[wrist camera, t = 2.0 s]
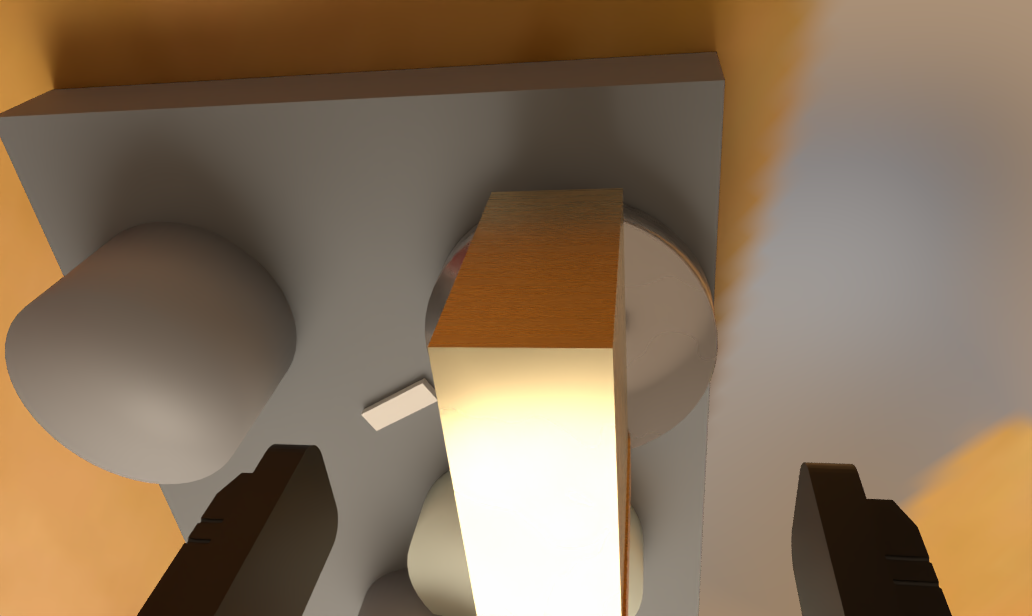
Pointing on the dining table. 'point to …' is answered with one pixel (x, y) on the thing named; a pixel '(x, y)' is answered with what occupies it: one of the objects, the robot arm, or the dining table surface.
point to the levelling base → (336, 287)
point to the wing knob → (561, 388)
